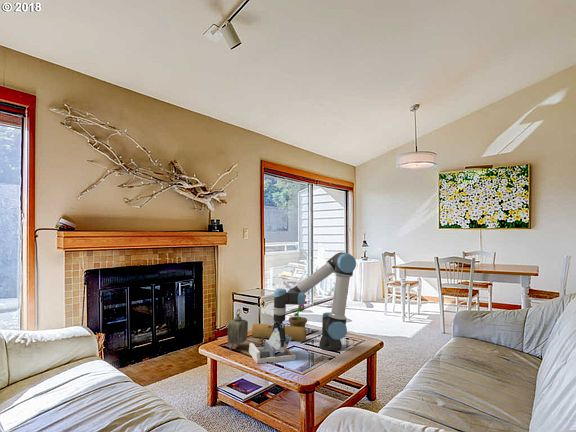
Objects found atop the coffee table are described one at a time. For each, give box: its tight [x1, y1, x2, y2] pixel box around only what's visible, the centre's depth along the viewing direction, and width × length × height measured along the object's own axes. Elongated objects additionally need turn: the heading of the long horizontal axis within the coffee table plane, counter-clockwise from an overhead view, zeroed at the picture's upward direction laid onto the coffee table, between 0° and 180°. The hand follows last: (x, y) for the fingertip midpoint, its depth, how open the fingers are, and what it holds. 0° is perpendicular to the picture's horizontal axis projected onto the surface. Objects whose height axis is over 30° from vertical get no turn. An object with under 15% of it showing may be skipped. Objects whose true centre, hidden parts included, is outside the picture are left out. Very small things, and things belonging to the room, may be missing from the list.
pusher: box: [260, 340, 276, 358], centre depth 218 cm, size 6×17×6 cm, turn 20°
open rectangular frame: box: [248, 342, 297, 364], centre depth 219 cm, size 24×20×6 cm
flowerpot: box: [288, 294, 308, 328], centre depth 271 cm, size 14×14×30 cm
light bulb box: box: [267, 328, 292, 354], centre depth 221 cm, size 11×7×11 cm
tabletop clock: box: [227, 309, 249, 351], centre depth 233 cm, size 14×9×25 cm, turn 168°
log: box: [251, 323, 307, 342], centre depth 255 cm, size 38×10×10 cm, turn 79°
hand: (278, 348), depth 221 cm, fingers closed on light bulb box, 12 cm apart
